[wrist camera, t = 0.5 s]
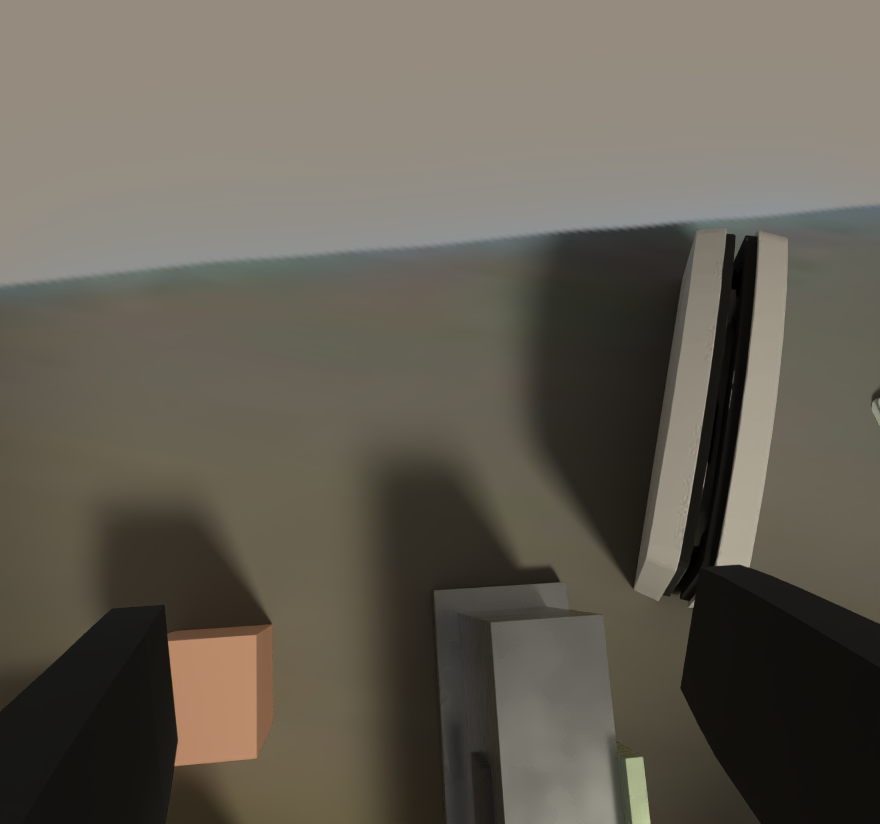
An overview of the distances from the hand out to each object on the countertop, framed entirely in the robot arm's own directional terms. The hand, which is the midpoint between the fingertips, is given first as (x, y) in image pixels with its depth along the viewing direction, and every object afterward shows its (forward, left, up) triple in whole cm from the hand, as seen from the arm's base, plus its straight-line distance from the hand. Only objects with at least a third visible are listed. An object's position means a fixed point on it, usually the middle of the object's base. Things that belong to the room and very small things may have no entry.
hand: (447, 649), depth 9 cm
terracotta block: (-3, +6, -23) cm, 24 cm away
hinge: (+7, -16, -23) cm, 29 cm away
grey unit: (-9, -6, -23) cm, 25 cm away
